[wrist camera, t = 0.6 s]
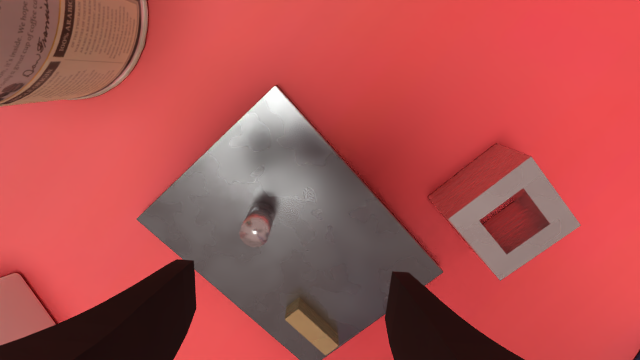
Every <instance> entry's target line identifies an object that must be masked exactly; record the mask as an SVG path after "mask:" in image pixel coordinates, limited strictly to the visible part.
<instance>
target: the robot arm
mask: <svg viewBox="0 0 640 360" xmlns="http://www.w3.org/2000/svg"><path fill="white" fill-rule="evenodd" d="M195 310H196V293H195V272H194V260H178V259H177V260H175V261H173V262H171V263H169V264H168V265H166V266H164V267H163V268H161V269H159V270H158V271H156V272H155V273H153V274H151V275H150V276H148V277H146V278H145V279H143V280H142V281H140V282H138V283H137V284H135V285H133V286H132V287H130V288H128V289H126V290H125V291H123V292H121V293H119V294H117V295H116V296H114V297H112V298H110V299H108V300H107V301H105V302H103V303H101V304H99V305H97V306H95V307H93V308H91V309H89V310H87V311H85V312H83V313H81V314H79V315H77V316H74V317H72V318H70V319H68V320H66V321H63V322H61V323H59V324H56V325H54V326H51V327H48V328H46V329H43V330H41V331H38V332H36V333H33V334H31V335H28V336H26V337H23V338H20V339H17V340H15V341H12V342H9V343H6V344H3V345H0V360H173V359H174V357H175V356H176V354H177V352H178V350H179V348H180V346H181V344H182V342H183V340H184V338H185V336H186V334H187V332H188V329H189V327H190V324H191V322H192V319H193V316H194V313H195ZM385 321H386V327H387V333H388V338H389V344H390V347H391V351H392V354H393V357H394V360H524V359H523V358H521V357H519V356H517V355H516V354H514V353H512V352H510V351H509V350H507V349H505V348H504V347H502V346H501V345H499V344H497V343H496V342H494V341H493V340H491V339H490V338H488V337H487V336H485V335H484V334H483V333H481V332H480V331H478V330H477V329H475V328H474V327H473V326H471V325H470V324H469V323H467V322H466V321H465V320H463V319H462V318H461V317H460V316H458V315H457V314H456V313H455V312H453V311H452V310H451V309H450V308H449V307H447V306H446V305H445V304H444V303H443V302H442V301H440V300H439V299H438V298H437V297H436V296H435V295H434V294H432V293H431V292H430V291H429V290H428V289H427V288H426V287H425V286H424V285H423V284H421V283H420V282H419V281H418V280H417V279H416V278H415V277H414V276H413V275H411V274H410V273H409V272H395V271H392V275H391V282H390V288H389V295H388V302H387V308H386V315H385Z"/></svg>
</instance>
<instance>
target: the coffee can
mask: <svg viewBox="0 0 640 360" xmlns="http://www.w3.org/2000/svg"><path fill="white" fill-rule="evenodd" d="M147 26H148V8H147V0H0V106H8V105H17V104H26V103H35V102H45V101H54V100H78V99H86V98H91V97H95V96H99V95H101V94H103V93H105V92H107V91H109V90H110V89H112V88H114V87H116V86H117V85H118V84H120V83H121V82H122V81H123V80H124V79H125V78H126V77H127V76H128V75H129V74H130V72H131V71H132V70H133V68H134V67H135V65H136V63H137V62H138V60H139V57H140V55H141V52H142V50H143V48H144V45H145V39H146V33H147Z"/></svg>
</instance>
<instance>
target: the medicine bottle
mask: <svg viewBox="0 0 640 360" xmlns="http://www.w3.org/2000/svg"><path fill="white" fill-rule="evenodd" d="M54 325H56V324H55V322H54V321H53V319H52V318H51V317H50V315H49V314H48V312H47V311H46V310H45V308H44V307H43V306H42V304H41V303H40V301H39V300H38V299H37V297H36V296H35V294H34V293H33V292H32V290H31V289H30V287H29V286H28V285H27V283H26V282H25V281H24V279H23V278H22V276H21V275H20V274H18V273H13V274H10V275H7V276H4V277H1V278H0V345H3V344H6V343H9V342H12V341H15V340H17V339H20V338H23V337H26V336H28V335H31V334H33V333H36V332H38V331H41V330H43V329H46V328H48V327H51V326H54Z"/></svg>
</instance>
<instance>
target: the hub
mask: <svg viewBox="0 0 640 360" xmlns="http://www.w3.org/2000/svg"><path fill="white" fill-rule="evenodd" d="M510 197H512V199H513V200H514V202H512V203H511V204H509V205H508V206H507V207H505V208H504V209H503V210H501V211H500V212H499V213H497V214H496V215H494V216H493V217H492V218H490V219H489V220H488V221H486V222H485V223H484V224H481V223H480V221H479V220H480V219H482V218H483V217H485V216H486V215H487V214H489V213H490V212H491V211H493V210H494V209H495V208H497V207H498V206H499V205H501V204H502V203H504V202H505V201H506V200H508V199H509V198H510ZM428 198H429V199H430V200H431V202H432V203H433V204H434V205H435V206H436V207H437V209H438V210H439V211H440V212H441V213H442V214H443V216H444V217H445V218H446V219H447V220H448V221H449V223H450V224H451V225H452V226H453V227H454V229H455V230H456V231H457V232H458V233H459V234H460V236H461V237H462V238H463V239H464V240H465V241H466V243H467V244H468V245H469V246H470V247H471V249H472V250H473V251H474V252H475V253H476V254H477V255H478V256H479V258H480V259H481V260H482V261H483V262H484V263H485V264H486V265H487V266H488V268H489V269H490V270H491V271H492V272H493V273H494V274H495V275H496V277H497V278H498V279H499V280H500V281H501V280H502V279H503V278H505V277H506V276H508V275H509V274H511V273H512V272H514V271H515V270H517V269H518V268H519V267H521V266H522V265H524V264H525V263H527V262H528V261H530V260H531V259H533V258H534V257H536V256H537V255H538V254H540V253H541V252H543V251H544V250H546V249H547V248H549V247H550V246H552V245H553V244H554V243H556V242H557V241H559V240H560V239H562V238H563V237H565V236H566V235H568V234H569V233H571V232H572V231H573V230H575V229H576V228H578V227H579V226H581V225H580V224H579V222H578V221H577V219H576V218H575V217H574V215H573V214H572V212H571V211H570V210H569V208H568V207H567V206H566V204H565V203H564V201H563V200H562V199H561V197H560V196H559V194H558V193H557V192H556V190H555V189H554V188H553V186H552V185H551V183H550V182H549V181H548V179H547V178H546V176H545V175H544V174H543V172H542V171H541V169H540V168H539V167H538V165H537V164H536V163H535V161H534V160H533V158H532V157H531V156H528V155H526V154H523V153H520V152H518V151H515V150H513V149H510V148H507V147H505V146H502V145H499V144H497V143H496V144H495V145H493V146H492V147H491V148H489V149H488V150H487V151H486V152H484V153H483V154H482V155H480V156H479V157H478V158H477V159H475V160H474V161H473V162H471V163H470V164H469V165H468V166H466V167H465V168H464V169H463V170H461V171H460V172H459V173H457V174H456V175H455V176H454V177H452V178H451V179H450V180H448V181H447V182H446V183H445V184H443V185H442V186H441V187H439V188H438V189H437V190H436V191H434V192H433V193H432V194H430V195H429V196H428Z"/></svg>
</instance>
